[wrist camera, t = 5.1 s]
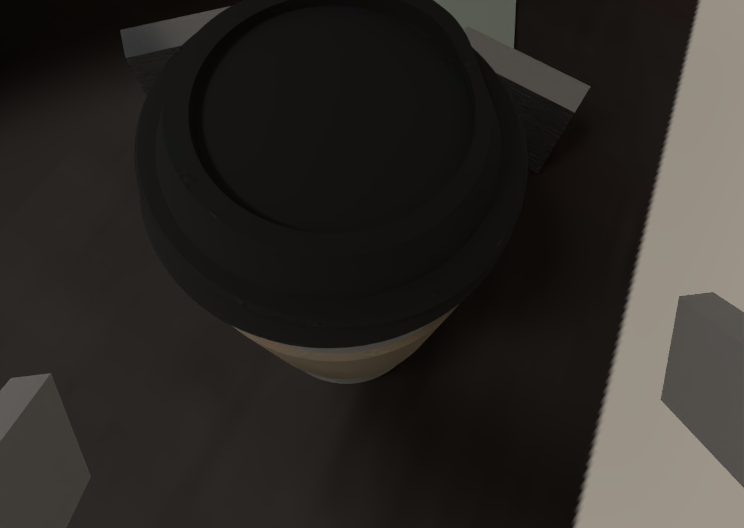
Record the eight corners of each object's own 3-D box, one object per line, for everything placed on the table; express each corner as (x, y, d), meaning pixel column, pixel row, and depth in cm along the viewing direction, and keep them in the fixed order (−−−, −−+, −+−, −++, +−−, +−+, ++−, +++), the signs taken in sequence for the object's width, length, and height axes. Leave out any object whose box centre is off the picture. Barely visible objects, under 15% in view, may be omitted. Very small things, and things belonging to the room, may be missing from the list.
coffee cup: (353, 457, 22) (343, 434, 8) (202, 316, 24) (-11, 106, 10) (484, 299, 25) (646, 77, 11) (338, 184, 27) (316, -131, 13)
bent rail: (151, 125, 28) (110, 56, 23) (172, 63, 29) (136, -15, 25) (551, 175, 27) (590, 114, 23) (551, 109, 29) (589, 39, 24)
